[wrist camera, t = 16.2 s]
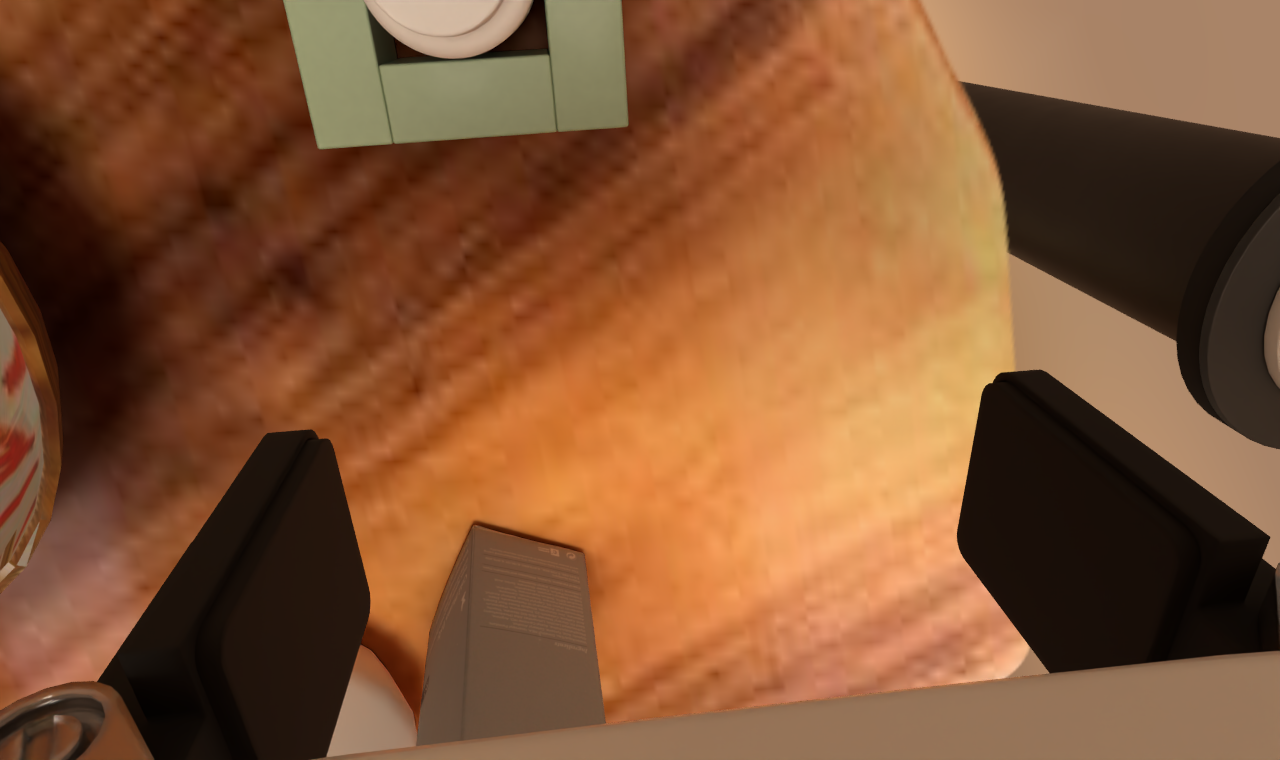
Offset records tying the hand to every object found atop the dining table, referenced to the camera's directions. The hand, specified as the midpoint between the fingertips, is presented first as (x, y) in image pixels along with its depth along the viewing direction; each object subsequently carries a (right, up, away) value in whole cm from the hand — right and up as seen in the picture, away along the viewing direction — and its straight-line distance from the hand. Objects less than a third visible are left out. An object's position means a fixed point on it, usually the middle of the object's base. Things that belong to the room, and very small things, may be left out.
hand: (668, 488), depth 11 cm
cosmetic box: (-7, -10, +31) cm, 33 cm away
